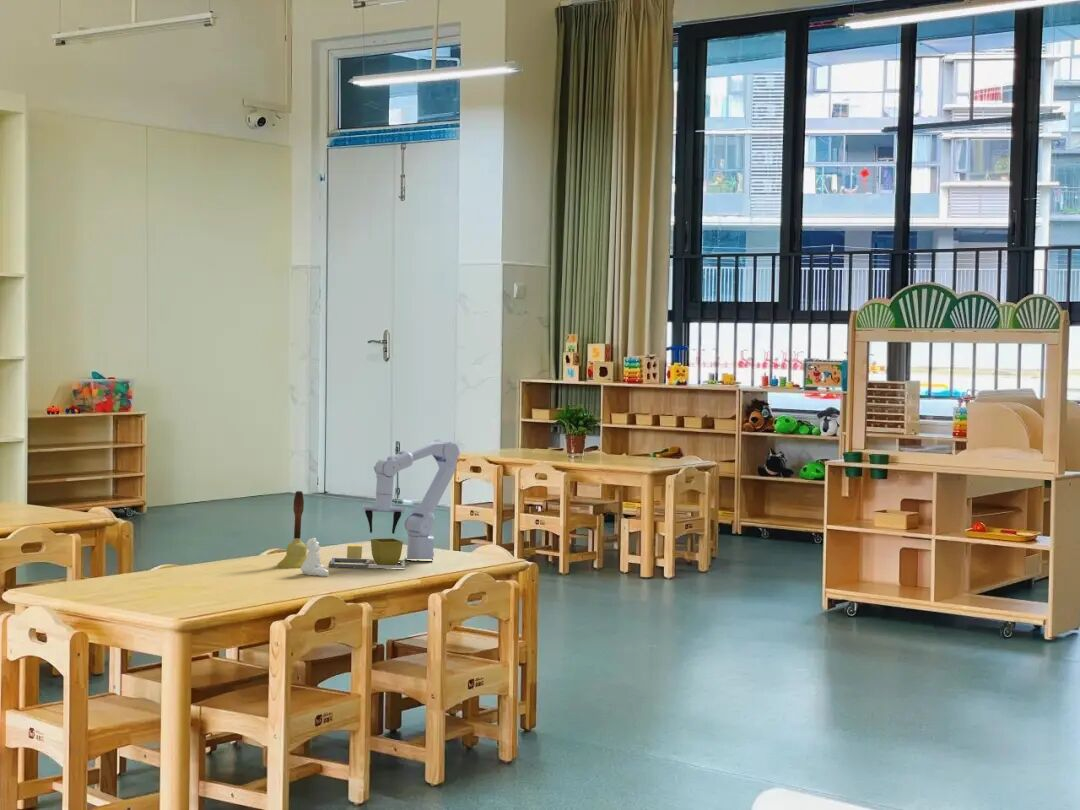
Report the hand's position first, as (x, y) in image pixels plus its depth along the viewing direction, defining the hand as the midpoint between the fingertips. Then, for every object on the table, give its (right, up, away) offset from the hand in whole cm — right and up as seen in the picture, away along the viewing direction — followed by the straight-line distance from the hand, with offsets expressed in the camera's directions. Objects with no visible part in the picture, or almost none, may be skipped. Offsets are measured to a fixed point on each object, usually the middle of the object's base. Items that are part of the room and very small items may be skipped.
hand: (382, 532), depth 456 cm
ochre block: (-10, -10, +5) cm, 15 cm away
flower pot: (+2, -11, -6) cm, 13 cm away
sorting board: (-4, -11, -7) cm, 13 cm away
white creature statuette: (-19, -11, -30) cm, 37 cm away
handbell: (-27, -10, -14) cm, 32 cm away
